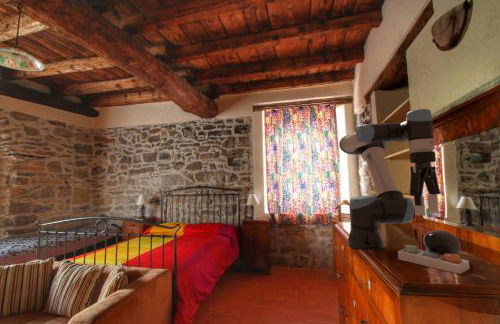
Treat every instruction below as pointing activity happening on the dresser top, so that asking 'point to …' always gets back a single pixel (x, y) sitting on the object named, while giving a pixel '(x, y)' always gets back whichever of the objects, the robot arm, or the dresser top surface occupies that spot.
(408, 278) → the dresser top surface
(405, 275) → the dresser top surface
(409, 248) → the green button
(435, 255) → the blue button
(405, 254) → the button panel
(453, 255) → the orange button
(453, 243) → the dark glossy ovoid
